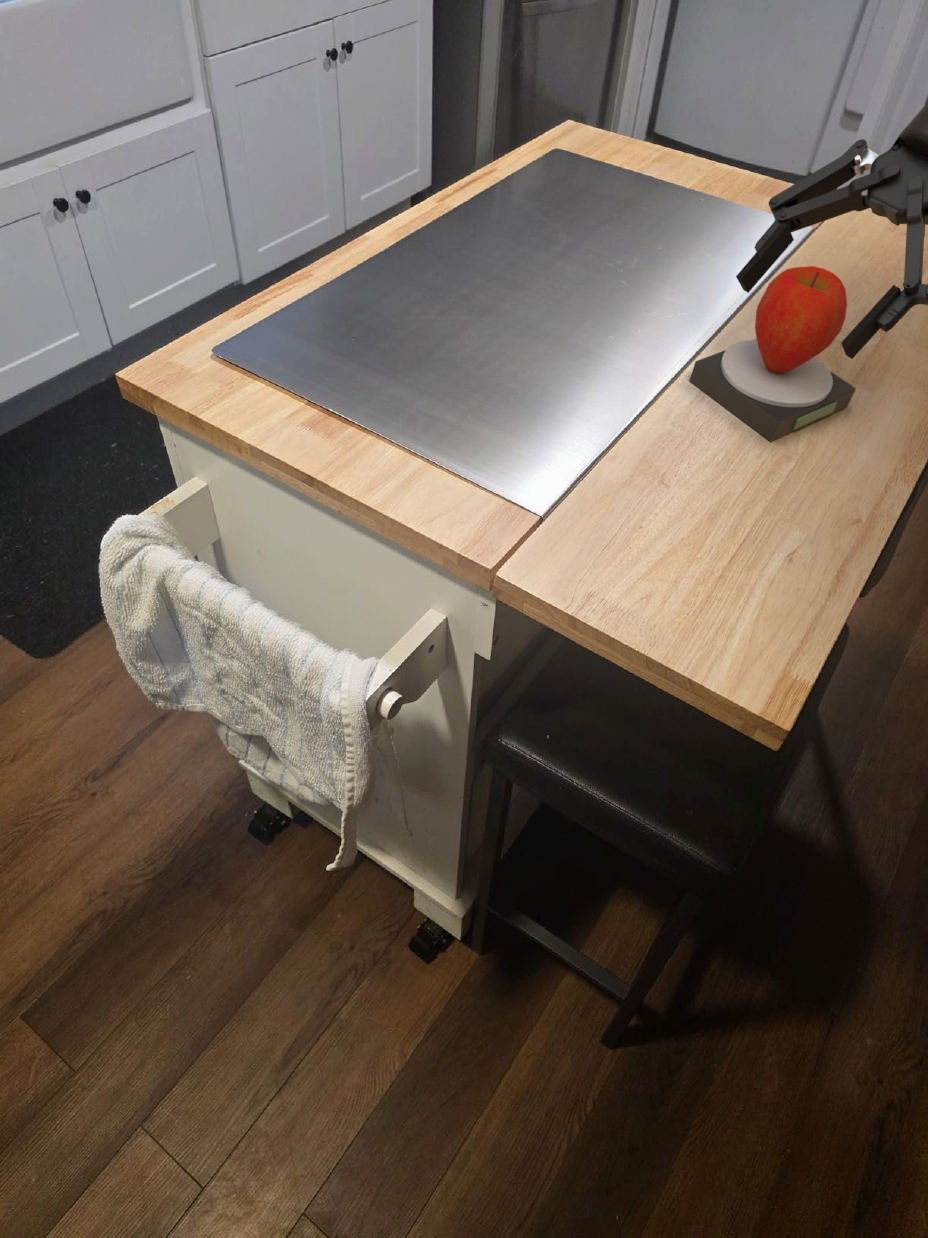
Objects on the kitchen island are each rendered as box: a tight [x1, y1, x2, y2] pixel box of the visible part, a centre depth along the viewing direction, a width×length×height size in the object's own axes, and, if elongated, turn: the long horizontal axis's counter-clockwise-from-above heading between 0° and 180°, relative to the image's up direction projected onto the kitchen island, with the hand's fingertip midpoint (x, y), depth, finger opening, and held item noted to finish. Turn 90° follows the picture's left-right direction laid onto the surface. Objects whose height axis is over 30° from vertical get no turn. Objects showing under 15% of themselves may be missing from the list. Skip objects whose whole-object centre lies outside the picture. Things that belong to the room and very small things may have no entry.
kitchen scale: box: [689, 338, 857, 443], centre depth 93 cm, size 12×12×3 cm
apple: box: [754, 265, 848, 373], centre depth 88 cm, size 9×8×11 cm
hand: (791, 316), depth 86 cm, fingers open, 13 cm apart
